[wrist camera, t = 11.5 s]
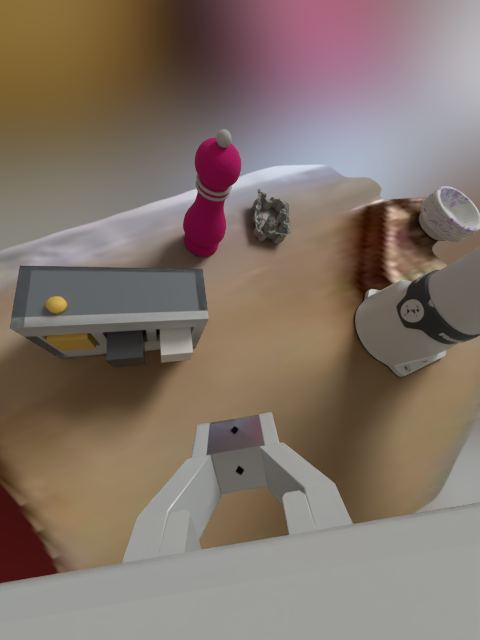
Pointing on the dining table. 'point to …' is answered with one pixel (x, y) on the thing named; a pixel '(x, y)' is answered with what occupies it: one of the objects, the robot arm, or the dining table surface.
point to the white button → (175, 344)
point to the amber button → (72, 341)
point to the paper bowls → (449, 215)
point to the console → (107, 304)
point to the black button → (125, 348)
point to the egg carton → (271, 218)
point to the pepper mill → (211, 194)
